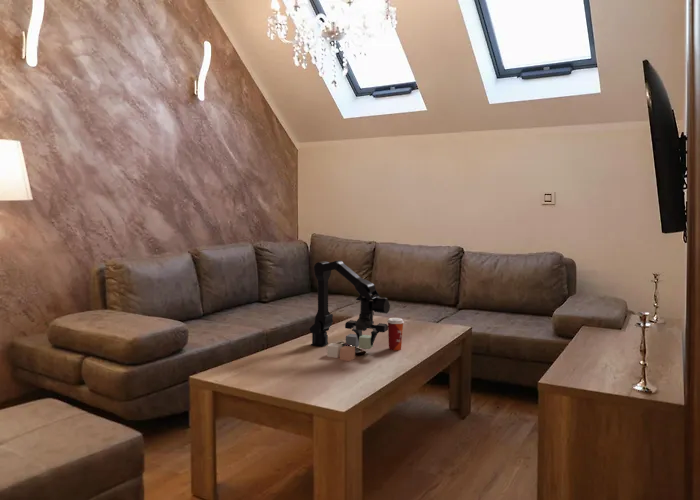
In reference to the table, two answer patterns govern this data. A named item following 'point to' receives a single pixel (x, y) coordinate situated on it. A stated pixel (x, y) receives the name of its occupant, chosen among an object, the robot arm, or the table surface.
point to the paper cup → (395, 333)
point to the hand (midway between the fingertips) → (366, 344)
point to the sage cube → (365, 342)
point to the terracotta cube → (347, 353)
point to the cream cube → (333, 350)
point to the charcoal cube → (352, 340)
